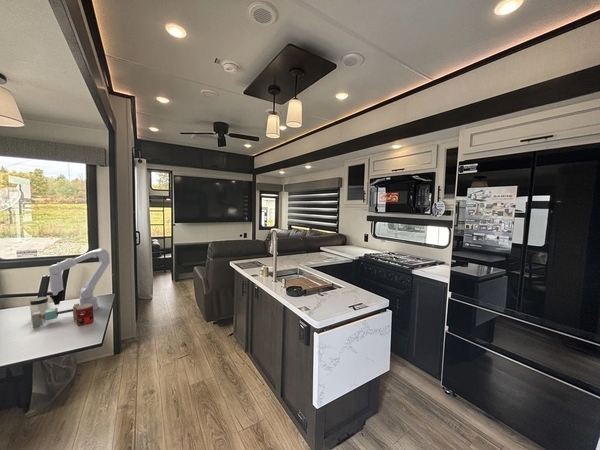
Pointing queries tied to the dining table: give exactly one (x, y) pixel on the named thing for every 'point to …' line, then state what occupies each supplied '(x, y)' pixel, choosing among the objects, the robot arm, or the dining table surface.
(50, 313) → the sleeve
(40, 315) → the rod peg assembly
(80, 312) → the canned food
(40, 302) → the jar
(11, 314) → the dining table surface
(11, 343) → the dining table surface
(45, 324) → the dining table surface
